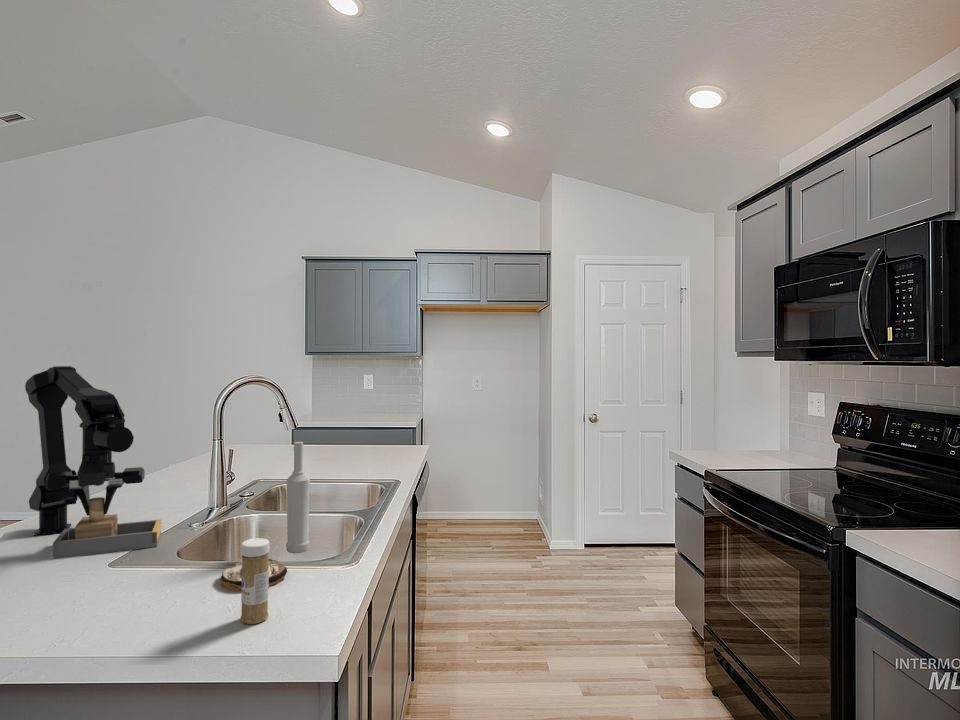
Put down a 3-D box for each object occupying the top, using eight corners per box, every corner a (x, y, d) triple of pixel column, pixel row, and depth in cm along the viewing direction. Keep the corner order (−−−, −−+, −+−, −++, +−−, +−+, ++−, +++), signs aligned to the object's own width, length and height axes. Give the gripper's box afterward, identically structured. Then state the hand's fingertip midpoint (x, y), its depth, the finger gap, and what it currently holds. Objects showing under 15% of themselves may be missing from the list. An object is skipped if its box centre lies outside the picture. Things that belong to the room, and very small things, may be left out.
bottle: (314, 548, 135) (314, 441, 135) (298, 555, 131) (299, 444, 130) (297, 544, 138) (297, 440, 137) (281, 551, 133) (281, 443, 133)
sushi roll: (298, 588, 114) (298, 567, 114) (215, 602, 107) (215, 579, 107) (288, 563, 127) (288, 544, 127) (213, 573, 121) (213, 554, 121)
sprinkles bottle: (235, 619, 99) (235, 541, 99) (260, 610, 103) (260, 535, 103) (249, 628, 96) (249, 547, 96) (274, 618, 100) (274, 541, 100)
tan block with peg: (82, 538, 137) (82, 496, 137) (117, 534, 140) (117, 493, 140) (74, 548, 130) (74, 504, 130) (111, 544, 133) (111, 501, 132)
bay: (64, 543, 137) (65, 528, 137) (161, 533, 145) (161, 519, 145) (52, 558, 127) (52, 542, 127) (156, 546, 135) (156, 531, 135)
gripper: (38, 456, 123) (38, 529, 124) (138, 451, 131) (138, 519, 131) (52, 448, 134) (52, 515, 134) (145, 443, 141) (144, 507, 141)
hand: (97, 514), depth 135 cm, fingers closed on tan block with peg, 3 cm apart
